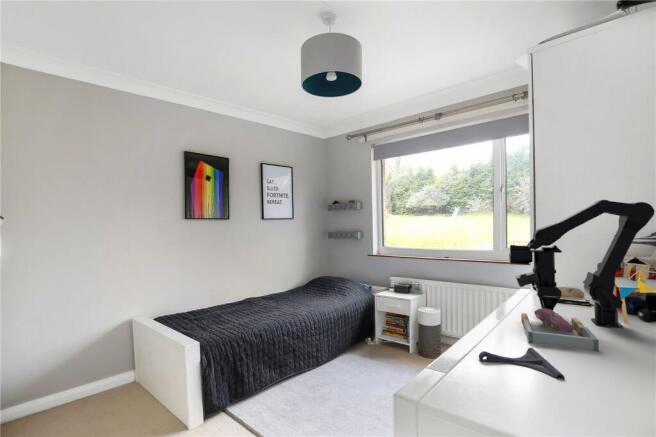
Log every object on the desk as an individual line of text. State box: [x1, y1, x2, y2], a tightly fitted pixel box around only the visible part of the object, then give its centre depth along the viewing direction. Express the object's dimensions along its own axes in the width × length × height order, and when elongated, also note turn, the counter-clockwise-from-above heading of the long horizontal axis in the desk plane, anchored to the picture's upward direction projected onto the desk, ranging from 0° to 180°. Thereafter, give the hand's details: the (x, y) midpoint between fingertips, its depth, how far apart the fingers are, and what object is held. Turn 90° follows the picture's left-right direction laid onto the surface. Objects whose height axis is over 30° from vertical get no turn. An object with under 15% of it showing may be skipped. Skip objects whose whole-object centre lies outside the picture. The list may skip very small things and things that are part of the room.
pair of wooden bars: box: [520, 312, 586, 337], centre depth 99 cm, size 10×15×2 cm, turn 64°
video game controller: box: [533, 308, 574, 333], centre depth 100 cm, size 10×5×7 cm, turn 5°
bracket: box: [478, 347, 566, 380], centre depth 77 cm, size 14×15×3 cm
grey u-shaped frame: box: [524, 321, 599, 353], centre depth 90 cm, size 10×15×3 cm
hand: (545, 312), depth 109 cm, fingers open, 9 cm apart
